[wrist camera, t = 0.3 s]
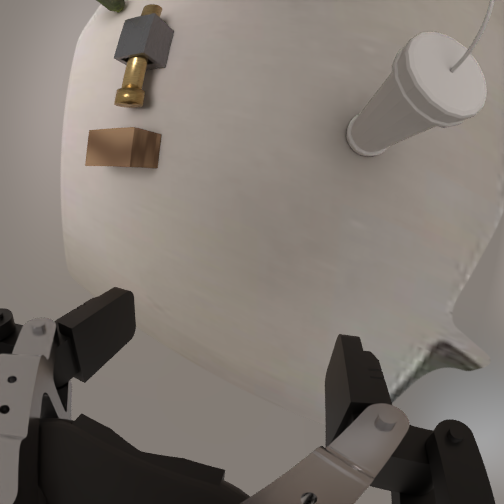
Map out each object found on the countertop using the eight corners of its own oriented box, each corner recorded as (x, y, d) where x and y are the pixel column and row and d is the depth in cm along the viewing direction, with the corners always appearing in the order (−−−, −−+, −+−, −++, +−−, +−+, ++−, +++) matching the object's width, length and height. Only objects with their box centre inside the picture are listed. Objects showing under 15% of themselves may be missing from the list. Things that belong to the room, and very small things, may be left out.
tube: (147, 16, 31) (134, 6, 27) (170, 12, 30) (158, 0, 26) (125, 108, 35) (108, 103, 31) (148, 106, 35) (132, 100, 31)
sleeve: (146, 35, 34) (125, 20, 27) (174, 31, 33) (155, 13, 27) (137, 70, 35) (113, 58, 29) (165, 67, 35) (143, 52, 28)
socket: (118, 135, 38) (89, 130, 32) (161, 134, 37) (134, 127, 30) (115, 166, 40) (85, 165, 33) (157, 168, 39) (129, 166, 32)
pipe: (340, 150, 34) (449, 42, 5) (350, 106, 32) (439, -56, 3) (380, 163, 33) (559, 125, 4) (389, 120, 31) (541, 13, 3)
